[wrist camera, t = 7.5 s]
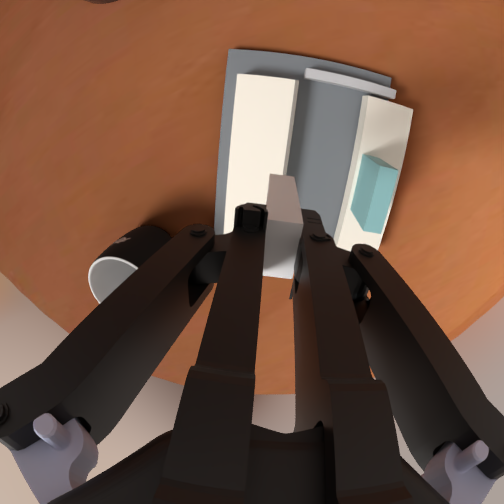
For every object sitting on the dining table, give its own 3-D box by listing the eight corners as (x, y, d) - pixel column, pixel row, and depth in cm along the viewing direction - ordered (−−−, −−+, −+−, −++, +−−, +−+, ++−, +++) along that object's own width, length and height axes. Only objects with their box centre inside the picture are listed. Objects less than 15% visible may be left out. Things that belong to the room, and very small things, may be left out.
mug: (151, 202, 33) (111, 240, 25) (199, 252, 36) (175, 303, 28) (104, 252, 38) (68, 293, 29) (146, 293, 41) (119, 340, 32)
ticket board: (230, 50, 24) (224, 44, 21) (387, 78, 23) (400, 76, 20) (215, 249, 36) (208, 264, 33) (345, 266, 36) (351, 282, 32)
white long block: (362, 95, 24) (388, 94, 17) (404, 108, 24) (438, 113, 17) (330, 248, 33) (341, 285, 27) (368, 254, 33) (386, 290, 26)
